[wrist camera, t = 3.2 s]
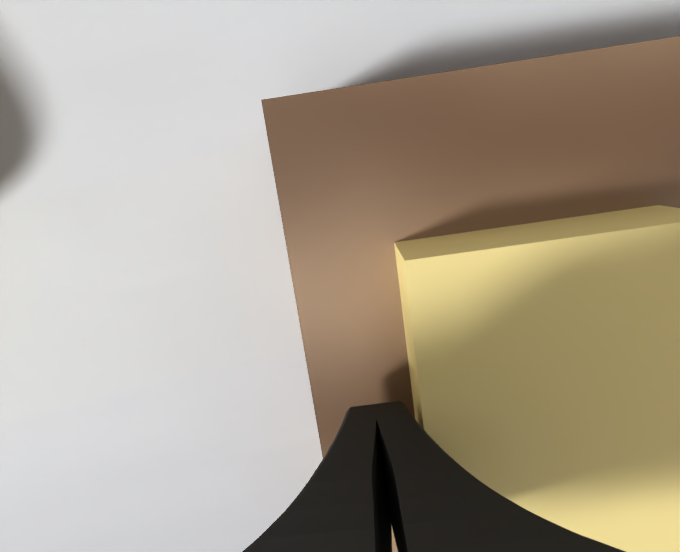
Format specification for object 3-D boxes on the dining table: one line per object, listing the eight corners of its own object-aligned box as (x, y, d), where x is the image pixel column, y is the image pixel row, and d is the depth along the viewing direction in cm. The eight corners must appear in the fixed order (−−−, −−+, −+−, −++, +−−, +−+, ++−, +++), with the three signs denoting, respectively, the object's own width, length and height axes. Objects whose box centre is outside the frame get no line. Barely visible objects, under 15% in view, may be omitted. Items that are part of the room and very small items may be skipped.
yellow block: (653, 535, 13) (707, 603, 11) (432, 560, 13) (447, 630, 11) (658, 204, 11) (727, 215, 9) (394, 242, 11) (404, 261, 9)
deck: (680, 521, 18) (776, 624, 14) (355, 557, 18) (358, 667, 14) (696, 52, 14) (835, 12, 10) (284, 115, 14) (261, 99, 10)
